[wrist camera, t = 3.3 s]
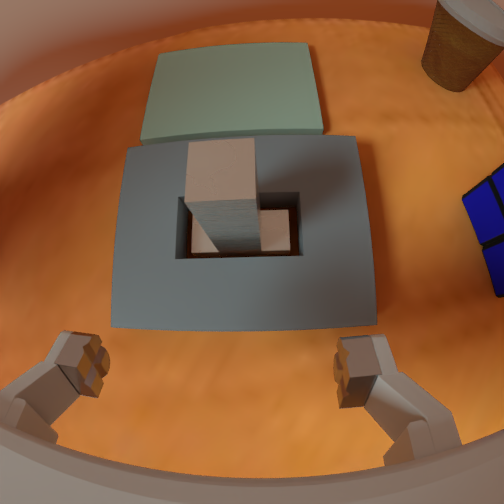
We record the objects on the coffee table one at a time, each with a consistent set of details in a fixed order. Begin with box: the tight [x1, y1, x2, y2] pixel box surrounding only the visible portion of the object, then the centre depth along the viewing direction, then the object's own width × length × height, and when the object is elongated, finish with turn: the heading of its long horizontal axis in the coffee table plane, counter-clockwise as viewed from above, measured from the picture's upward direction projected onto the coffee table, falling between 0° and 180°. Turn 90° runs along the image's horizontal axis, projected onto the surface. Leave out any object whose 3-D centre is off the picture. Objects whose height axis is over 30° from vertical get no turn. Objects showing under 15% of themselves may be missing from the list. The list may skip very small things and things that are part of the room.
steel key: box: [184, 138, 290, 257], centre depth 19 cm, size 7×3×11 cm, turn 91°
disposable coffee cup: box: [421, 0, 504, 92], centre depth 21 cm, size 10×10×12 cm
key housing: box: [111, 135, 377, 331], centre depth 22 cm, size 18×14×3 cm
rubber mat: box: [140, 42, 323, 145], centre depth 27 cm, size 16×12×1 cm
